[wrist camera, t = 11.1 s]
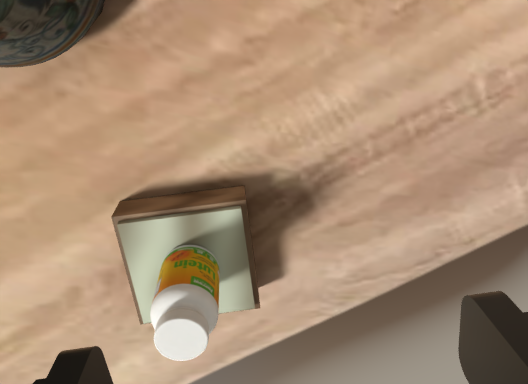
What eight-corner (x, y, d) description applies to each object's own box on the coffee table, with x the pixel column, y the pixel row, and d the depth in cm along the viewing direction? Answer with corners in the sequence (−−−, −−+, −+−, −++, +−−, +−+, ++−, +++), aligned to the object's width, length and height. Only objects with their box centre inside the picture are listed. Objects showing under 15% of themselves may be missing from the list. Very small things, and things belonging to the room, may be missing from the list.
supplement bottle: (225, 249, 41) (225, 317, 33) (212, 296, 43) (209, 373, 35) (167, 237, 41) (150, 304, 32) (156, 286, 42) (138, 362, 34)
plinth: (244, 185, 43) (245, 202, 40) (258, 288, 48) (260, 311, 45) (119, 201, 43) (109, 220, 39) (146, 303, 48) (139, 328, 44)
